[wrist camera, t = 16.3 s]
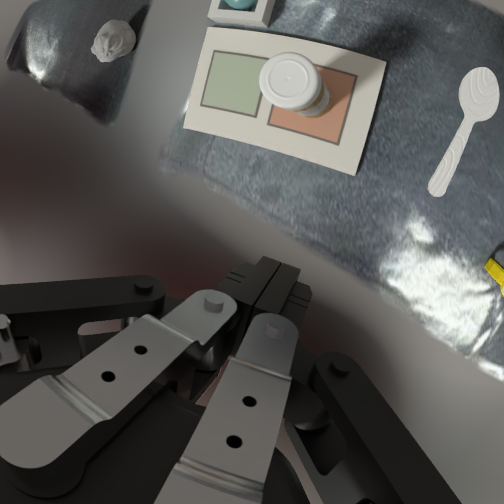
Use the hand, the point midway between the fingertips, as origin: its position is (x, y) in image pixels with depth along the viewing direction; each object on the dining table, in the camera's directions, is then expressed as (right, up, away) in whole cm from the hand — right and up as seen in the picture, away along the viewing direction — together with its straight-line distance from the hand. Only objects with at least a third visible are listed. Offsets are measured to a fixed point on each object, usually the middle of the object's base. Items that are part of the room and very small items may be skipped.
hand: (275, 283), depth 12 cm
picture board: (+2, +20, +22) cm, 30 cm away
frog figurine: (-19, +32, +26) cm, 45 cm away
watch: (+30, -1, +20) cm, 36 cm away
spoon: (+23, +15, +17) cm, 33 cm away
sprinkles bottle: (+6, +18, +21) cm, 28 cm away
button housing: (-1, +32, +19) cm, 37 cm away
